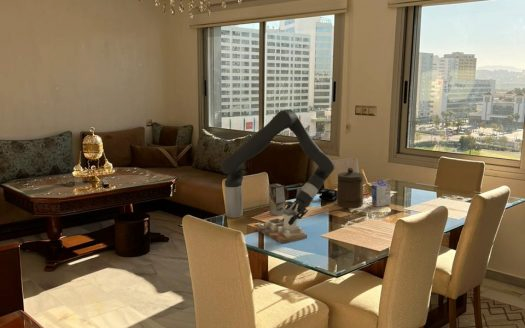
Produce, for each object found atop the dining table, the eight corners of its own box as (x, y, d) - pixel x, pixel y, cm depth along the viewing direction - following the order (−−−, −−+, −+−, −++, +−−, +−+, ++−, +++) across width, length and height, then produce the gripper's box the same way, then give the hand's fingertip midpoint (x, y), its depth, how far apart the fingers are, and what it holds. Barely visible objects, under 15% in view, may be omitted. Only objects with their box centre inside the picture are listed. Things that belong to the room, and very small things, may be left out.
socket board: (256, 229, 243) (256, 221, 242) (279, 224, 250) (279, 216, 249) (282, 243, 223) (281, 234, 222) (306, 237, 230) (306, 228, 229)
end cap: (338, 200, 294) (338, 189, 293) (333, 202, 289) (333, 191, 287) (324, 197, 300) (324, 187, 299) (318, 200, 295) (318, 189, 293)
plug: (283, 230, 233) (283, 210, 231) (291, 228, 235) (291, 208, 233) (288, 232, 229) (288, 212, 227) (296, 231, 231) (296, 211, 229)
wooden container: (367, 203, 284) (368, 167, 280) (354, 209, 273) (354, 171, 269) (345, 199, 294) (346, 164, 290) (332, 205, 283) (332, 168, 279)
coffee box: (286, 214, 268) (286, 186, 265) (276, 216, 265) (275, 187, 262) (278, 210, 276) (277, 183, 273) (268, 212, 273) (268, 184, 270)
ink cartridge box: (385, 202, 286) (385, 178, 283) (390, 205, 281) (391, 180, 278) (371, 204, 282) (371, 180, 279) (376, 207, 277) (377, 182, 274)
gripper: (294, 187, 238) (273, 214, 234) (311, 192, 226) (290, 222, 222) (303, 195, 241) (283, 223, 238) (320, 202, 229) (299, 231, 226)
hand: (286, 222), depth 230 cm, fingers closed on plug, 4 cm apart
